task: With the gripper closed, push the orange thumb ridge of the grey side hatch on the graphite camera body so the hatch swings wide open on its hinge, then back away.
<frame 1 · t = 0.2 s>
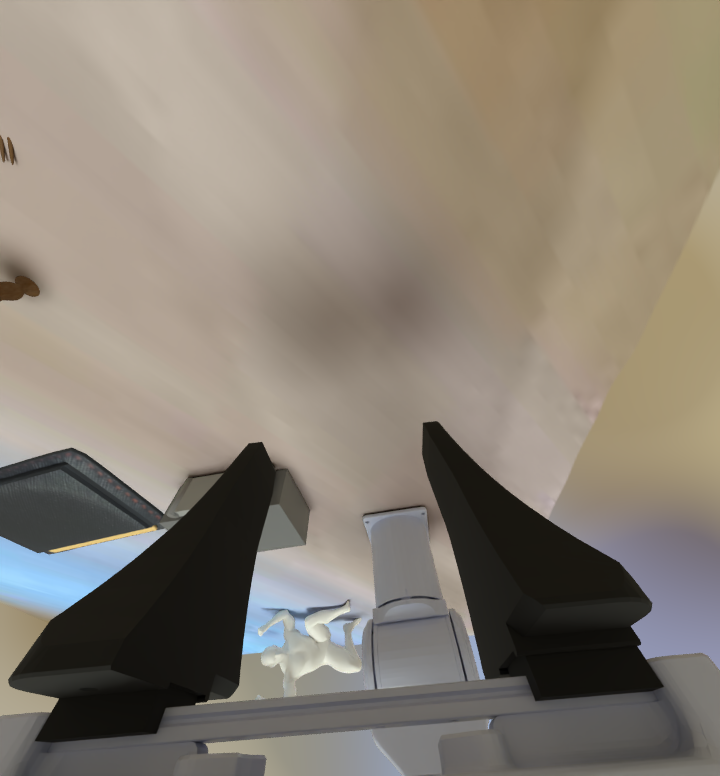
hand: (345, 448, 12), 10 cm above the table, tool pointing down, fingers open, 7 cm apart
camera body: (249, 499, 30), on the table
person figurine: (315, 612, 53), on the table
side hatch: (217, 504, 25), point 4 cm above the table, hinge at 0.0°
wallet: (66, 502, 31), on the table
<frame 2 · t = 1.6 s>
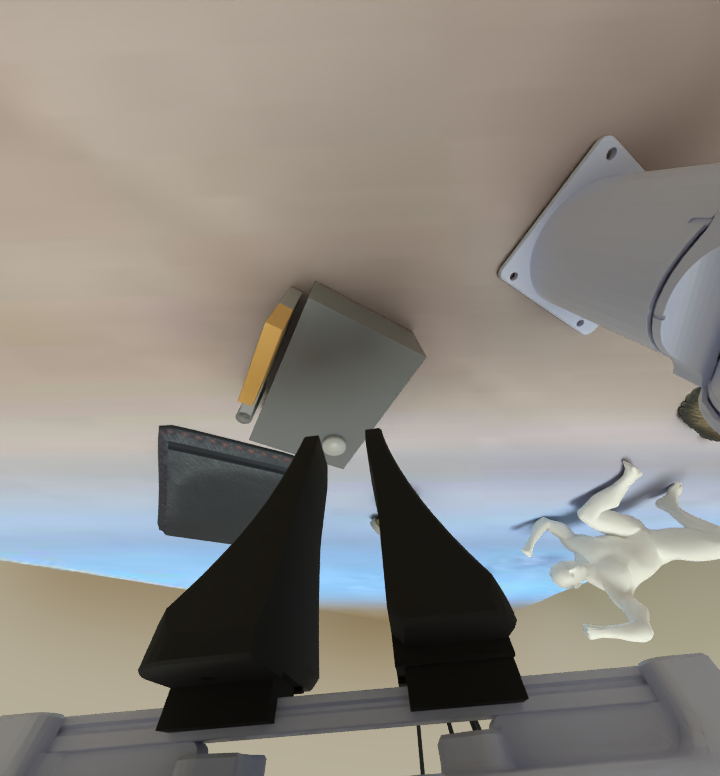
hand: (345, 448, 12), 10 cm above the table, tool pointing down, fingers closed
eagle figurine: (719, 403, 26), on the table
camera body: (332, 372, 22), on the table
person figurine: (588, 504, 35), on the table
reed diffuser: (401, 500, 33), on the table
side hatch: (262, 369, 17), point 4 cm above the table, hinge at 0.0°
wallet: (231, 492, 31), on the table
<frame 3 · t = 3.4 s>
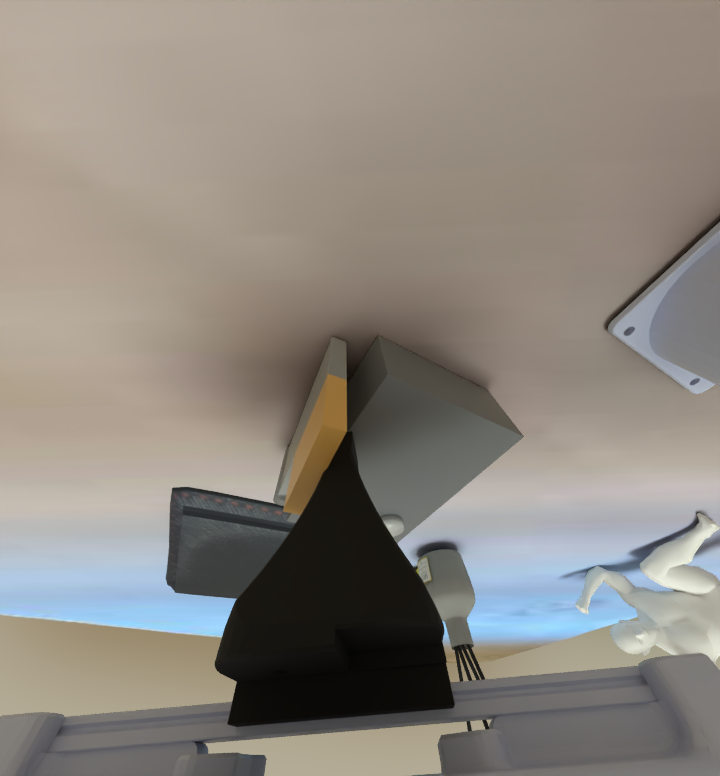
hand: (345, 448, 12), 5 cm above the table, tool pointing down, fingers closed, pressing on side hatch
camera body: (383, 433, 18), on the table
person figurine: (649, 552, 32), on the table
reed diffuser: (441, 553, 29), on the table
side hatch: (304, 447, 13), point 4 cm above the table, hinge at 5.6°, touching gripper
wallet: (250, 547, 28), on the table
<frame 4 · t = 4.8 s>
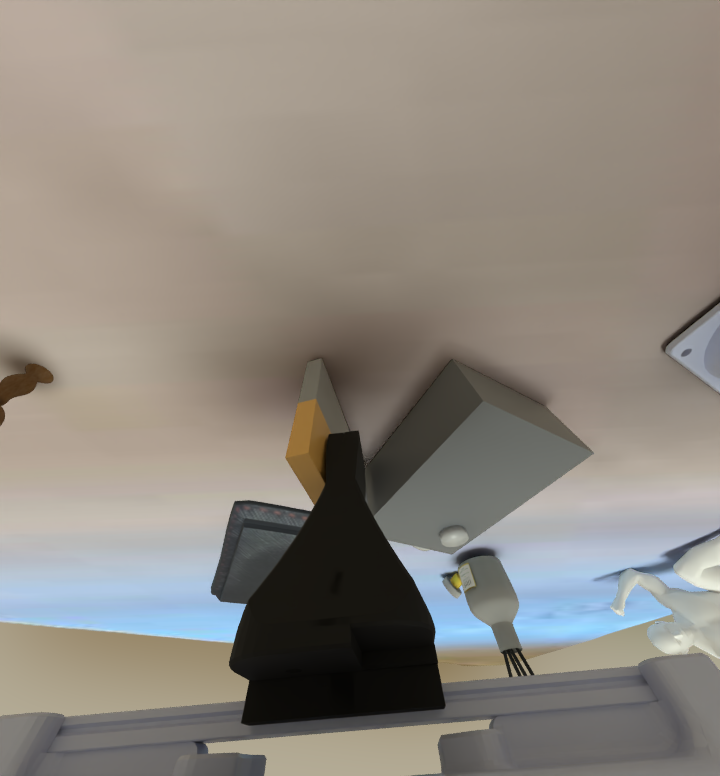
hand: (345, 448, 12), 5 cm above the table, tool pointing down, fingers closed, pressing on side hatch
camera body: (442, 447, 19), on the table
person figurine: (681, 553, 33), on the table
reed diffuser: (478, 559, 30), on the table
side hatch: (339, 465, 14), point 4 cm above the table, hinge at 42.4°, touching gripper
wallet: (294, 556, 29), on the table
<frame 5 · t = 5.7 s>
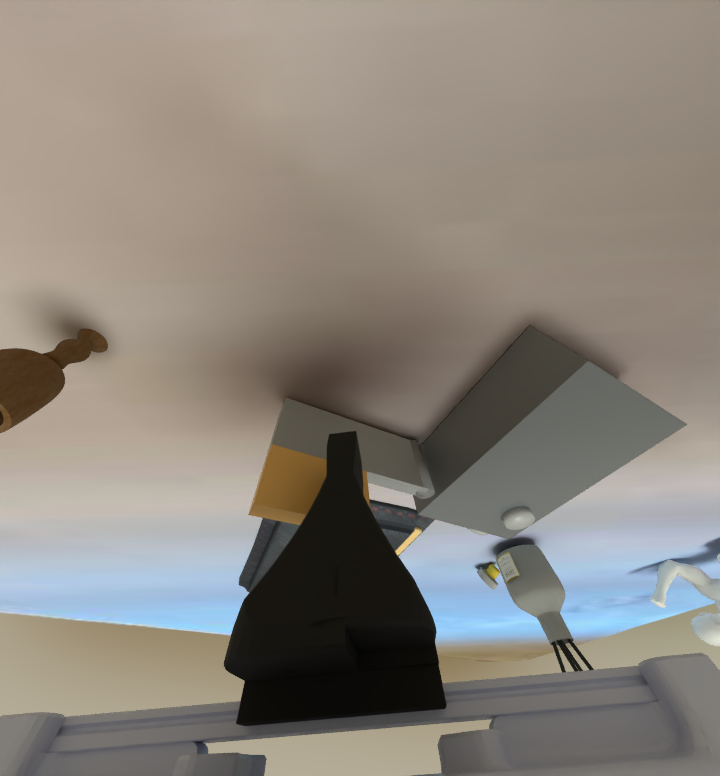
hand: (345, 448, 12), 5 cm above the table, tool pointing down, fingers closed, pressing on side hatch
camera body: (501, 425, 18), on the table
reed diffuser: (515, 549, 29), on the table
side hatch: (359, 469, 14), point 4 cm above the table, hinge at 91.5°, touching gripper
wallet: (327, 545, 28), on the table
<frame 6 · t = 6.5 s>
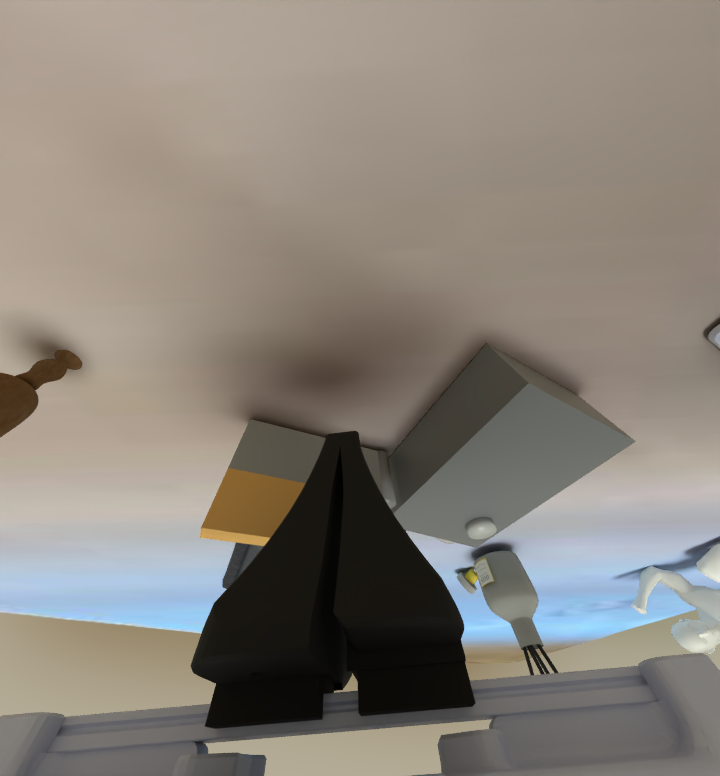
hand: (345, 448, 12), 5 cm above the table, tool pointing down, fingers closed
camera body: (468, 437, 18), on the table
person figurine: (704, 550, 32), on the table
reed diffuser: (494, 555, 29), on the table
side hatch: (318, 485, 15), point 4 cm above the table, hinge at 96.2°
wallet: (308, 549, 28), on the table
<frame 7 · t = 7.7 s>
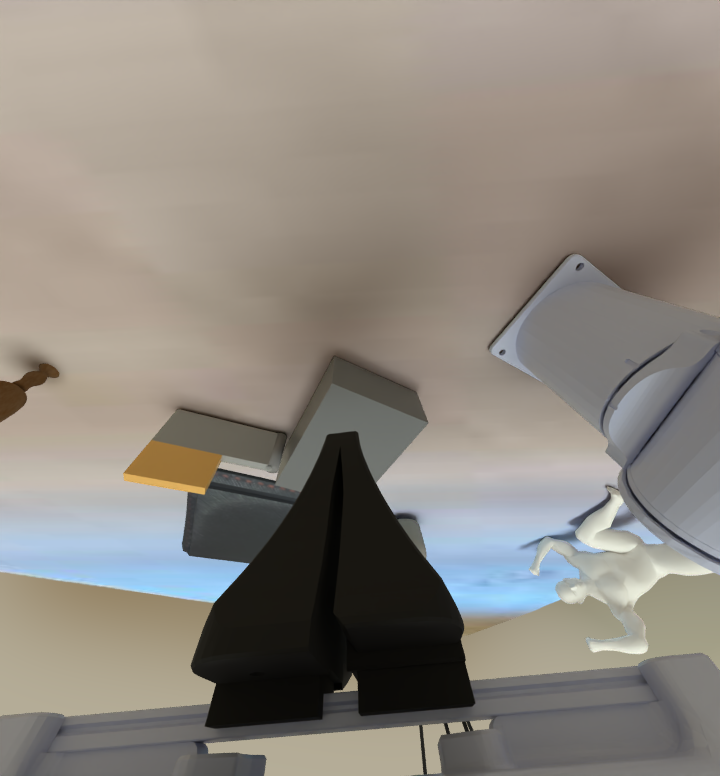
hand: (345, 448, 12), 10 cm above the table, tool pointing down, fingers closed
camera body: (345, 423, 25), on the table
person figurine: (589, 522, 38), on the table
reed diffuser: (405, 524, 36), on the table
side hatch: (220, 454, 21), point 4 cm above the table, hinge at 96.2°
wallet: (249, 518, 35), on the table
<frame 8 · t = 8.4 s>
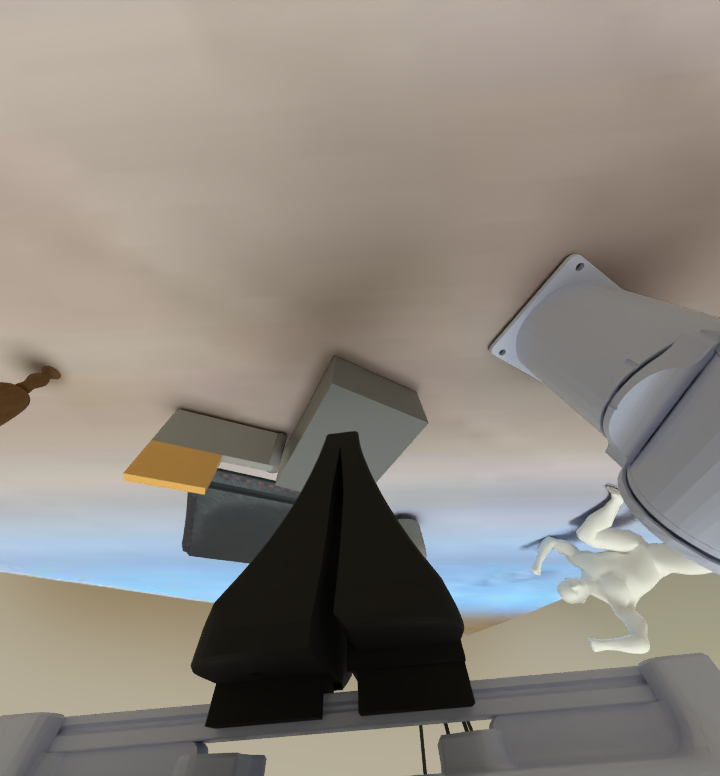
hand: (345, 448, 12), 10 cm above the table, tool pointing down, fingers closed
camera body: (345, 423, 25), on the table
person figurine: (590, 521, 38), on the table
reed diffuser: (405, 524, 36), on the table
side hatch: (220, 454, 21), point 4 cm above the table, hinge at 96.2°
wallet: (249, 518, 35), on the table
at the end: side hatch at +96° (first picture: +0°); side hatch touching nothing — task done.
